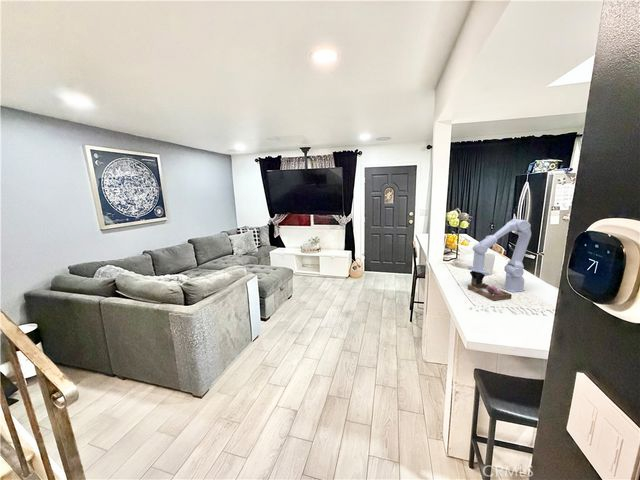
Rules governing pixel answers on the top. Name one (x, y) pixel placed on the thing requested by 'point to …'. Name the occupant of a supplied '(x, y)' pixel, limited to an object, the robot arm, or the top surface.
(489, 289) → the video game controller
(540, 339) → the top surface
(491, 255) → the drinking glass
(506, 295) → the sliding frame
